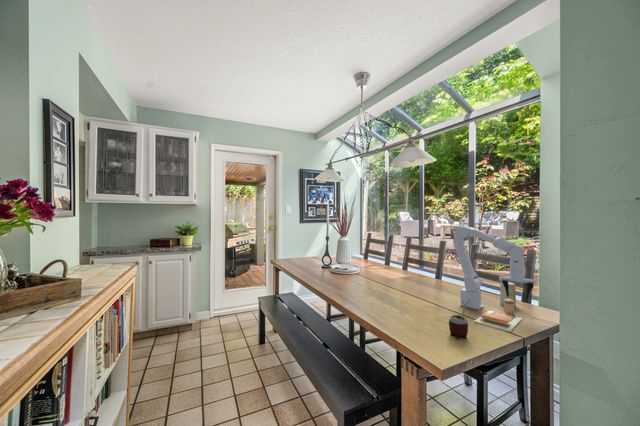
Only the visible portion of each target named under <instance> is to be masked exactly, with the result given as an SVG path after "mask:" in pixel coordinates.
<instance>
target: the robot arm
mask: <svg viewBox="0 0 640 426" xmlns="http://www.w3.org/2000/svg"><path fill="white" fill-rule="evenodd" d="M453 233H454V235H453V241H452V244H453V246H454V247H453V248H454V250H455V252H456V255H457V258H458V260H459V264H460V265H461V269H462V272H463V280H464V287H465V288H461V291H460V304H459V305H460V306H462V307H464V305H465V303H466V302H467V301H468V300H469V302H468V303H467V305H466V308H470V309H473V310H478V311H480V310H481V309H482V308H484V307H485V305H483V304H482V290H481V287H482V286H483V285H482V284H483V282H482V280H481V278H480V277H479V276H478V273H476V272H475V269H474V267H473V264H472V261H471V258H470V256H469V254H468V251H467V248H466V245H465V243H466V242H467V239H469V238H478V239H481V240H483V241H485V242H488V243H490V244H492V246H493V248H496V249H497V250H499V251H502V252H503V253H507V254H508V255H509V258H510V260H509V276H500V275H499V277H498V278H499V279H498V280H499V282H501V283H503V285H504V287H505V290H506V295H507V296H509V284H508V282H510V283H520V284H524V285H525V299H526V300H528V299H529V296H530V294H531V291H532V290H533V289H534V285H537V280H536V279H533V278H525V253H526V249H525V247H524V246H522V245H521V244H517V243H516V242H511V241H509V240H507V239H506V238H505V237H503V236H502V237H501V236H500V237H498V236H497V237H494V236H492V235H491V234H488V233H486V232H484V231H481V230H480V229H477V228H475V227H471V226H470V225H465V226H464V225H463V226H459V227H457V228H456V229H455V231H454V232H453Z"/></svg>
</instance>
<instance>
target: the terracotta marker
mask: <svg viewBox="0 0 640 426" xmlns="http://www.w3.org/2000/svg"><path fill="white" fill-rule="evenodd" d="M504 302H505V306H504V314H507V315H511V316H515V306H514V300H512V299H505V300H504Z"/></svg>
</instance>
